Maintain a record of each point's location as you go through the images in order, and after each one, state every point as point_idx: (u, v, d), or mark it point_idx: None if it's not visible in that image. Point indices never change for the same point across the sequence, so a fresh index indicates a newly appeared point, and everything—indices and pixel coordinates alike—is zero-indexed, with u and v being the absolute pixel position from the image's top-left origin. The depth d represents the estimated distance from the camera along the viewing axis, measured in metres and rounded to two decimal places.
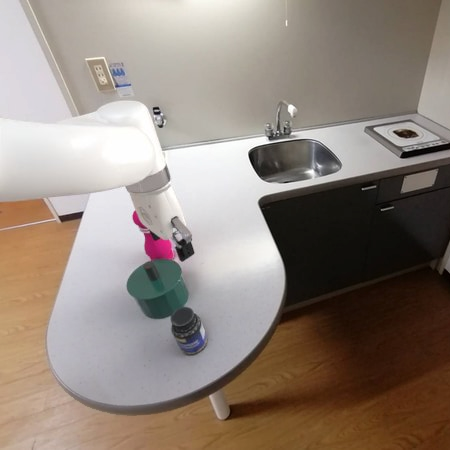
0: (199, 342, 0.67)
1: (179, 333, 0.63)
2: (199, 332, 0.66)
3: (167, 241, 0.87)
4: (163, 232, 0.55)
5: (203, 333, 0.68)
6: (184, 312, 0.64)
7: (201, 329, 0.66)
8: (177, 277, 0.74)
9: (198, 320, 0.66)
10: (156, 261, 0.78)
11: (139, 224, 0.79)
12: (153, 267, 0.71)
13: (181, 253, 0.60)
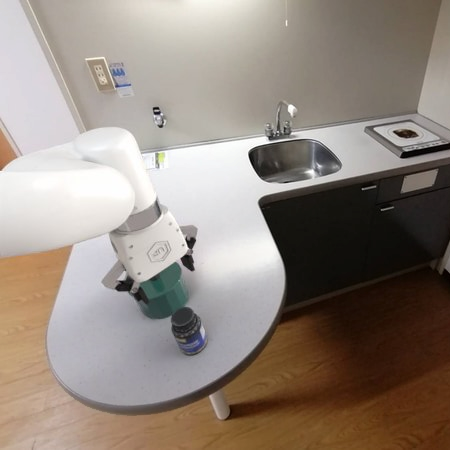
0: (199, 342, 0.67)
1: (179, 333, 0.63)
2: (199, 332, 0.66)
3: None
4: (185, 243, 0.54)
5: (203, 333, 0.68)
6: (184, 312, 0.64)
7: (201, 329, 0.66)
8: (177, 277, 0.74)
9: (198, 320, 0.66)
10: None
11: None
12: None
13: None
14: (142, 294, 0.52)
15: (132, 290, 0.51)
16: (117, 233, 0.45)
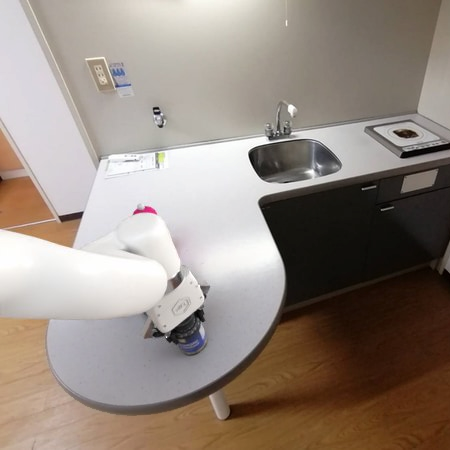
0: (199, 342, 0.67)
1: (179, 333, 0.63)
2: (198, 332, 0.65)
3: None
4: (202, 295, 0.62)
5: (203, 333, 0.68)
6: None
7: (200, 329, 0.66)
8: None
9: (198, 320, 0.66)
10: None
11: None
12: None
13: None
14: (173, 337, 0.62)
15: (166, 335, 0.60)
16: None
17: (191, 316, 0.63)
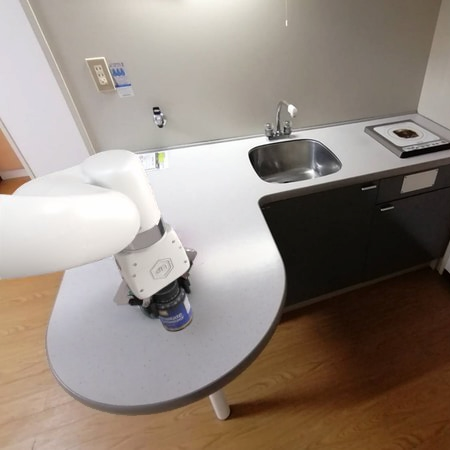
0: (183, 316, 0.59)
1: (160, 303, 0.55)
2: (183, 304, 0.58)
3: None
4: (187, 259, 0.55)
5: (188, 306, 0.60)
6: None
7: (185, 301, 0.59)
8: None
9: (182, 290, 0.58)
10: None
11: None
12: None
13: None
14: (153, 308, 0.54)
15: (144, 304, 0.53)
16: (121, 251, 0.46)
17: (174, 284, 0.56)
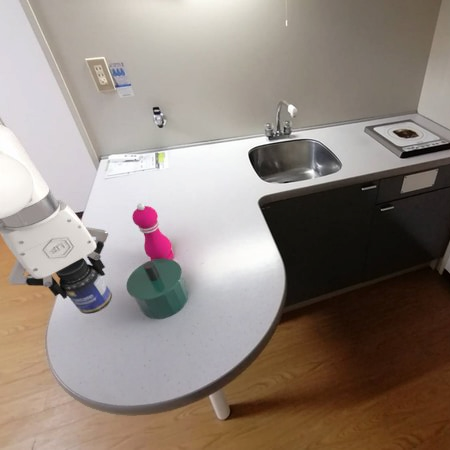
0: (95, 298, 0.58)
1: (66, 284, 0.55)
2: (93, 285, 0.57)
3: (167, 241, 0.87)
4: (91, 240, 0.54)
5: (102, 288, 0.59)
6: None
7: (97, 283, 0.58)
8: (177, 277, 0.74)
9: (93, 271, 0.57)
10: (156, 261, 0.78)
11: (139, 224, 0.79)
12: (153, 267, 0.71)
13: (100, 266, 0.59)
14: (57, 288, 0.54)
15: (45, 284, 0.52)
16: (6, 229, 0.45)
17: (81, 265, 0.55)
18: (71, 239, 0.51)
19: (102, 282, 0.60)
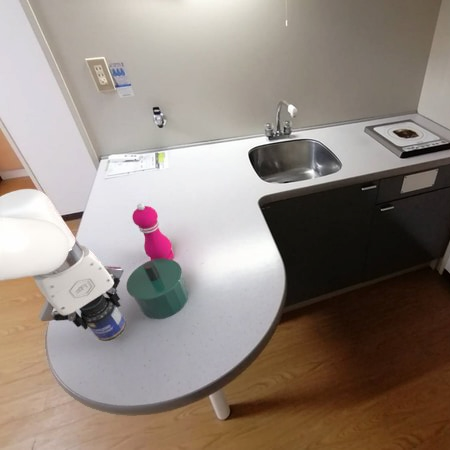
0: (112, 327, 0.65)
1: (87, 317, 0.62)
2: (111, 317, 0.64)
3: (167, 241, 0.87)
4: (110, 278, 0.61)
5: (118, 318, 0.66)
6: None
7: (114, 314, 0.65)
8: (177, 277, 0.74)
9: (110, 304, 0.64)
10: (156, 261, 0.78)
11: (139, 224, 0.79)
12: (153, 267, 0.71)
13: (116, 299, 0.66)
14: (80, 321, 0.61)
15: (70, 319, 0.59)
16: (39, 276, 0.52)
17: (100, 300, 0.62)
18: (93, 279, 0.58)
19: (118, 312, 0.67)
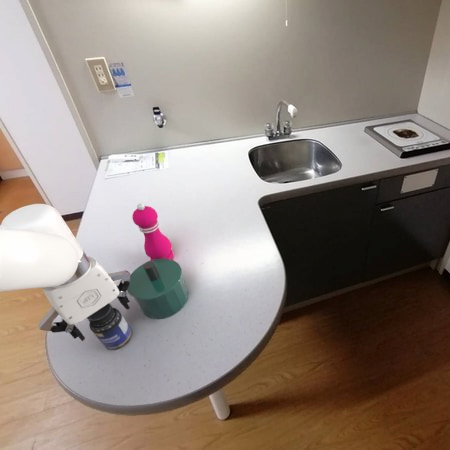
0: (119, 337, 0.68)
1: (95, 327, 0.64)
2: (118, 327, 0.67)
3: (167, 241, 0.87)
4: (115, 288, 0.63)
5: (124, 328, 0.69)
6: None
7: (121, 324, 0.68)
8: (177, 277, 0.74)
9: (117, 315, 0.67)
10: (156, 261, 0.78)
11: (139, 224, 0.79)
12: (153, 267, 0.71)
13: (126, 301, 0.68)
14: (77, 333, 0.61)
15: (67, 330, 0.60)
16: (48, 287, 0.54)
17: (108, 311, 0.65)
18: (99, 290, 0.60)
19: (124, 322, 0.69)
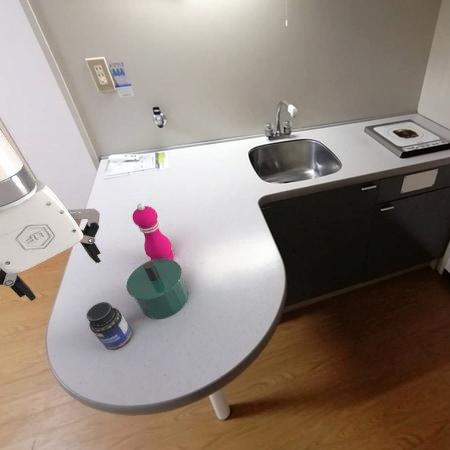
0: (119, 337, 0.68)
1: (95, 327, 0.64)
2: (118, 327, 0.67)
3: (167, 241, 0.87)
4: (77, 228, 0.46)
5: (124, 328, 0.69)
6: (101, 307, 0.65)
7: (121, 324, 0.68)
8: (177, 277, 0.74)
9: (117, 315, 0.67)
10: (156, 261, 0.78)
11: (139, 224, 0.79)
12: (153, 267, 0.71)
13: (94, 251, 0.51)
14: (22, 288, 0.44)
15: (6, 283, 0.42)
16: None
17: (108, 311, 0.65)
18: (51, 227, 0.43)
19: (124, 322, 0.69)
